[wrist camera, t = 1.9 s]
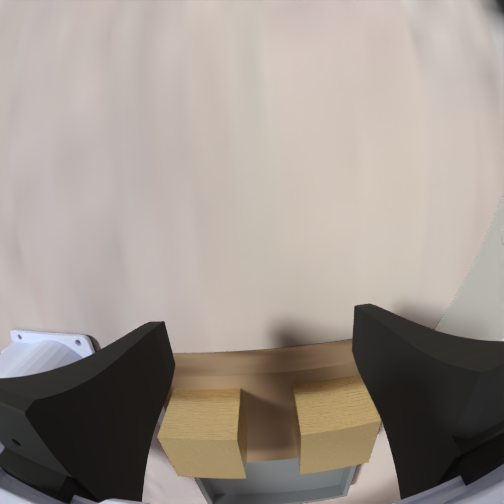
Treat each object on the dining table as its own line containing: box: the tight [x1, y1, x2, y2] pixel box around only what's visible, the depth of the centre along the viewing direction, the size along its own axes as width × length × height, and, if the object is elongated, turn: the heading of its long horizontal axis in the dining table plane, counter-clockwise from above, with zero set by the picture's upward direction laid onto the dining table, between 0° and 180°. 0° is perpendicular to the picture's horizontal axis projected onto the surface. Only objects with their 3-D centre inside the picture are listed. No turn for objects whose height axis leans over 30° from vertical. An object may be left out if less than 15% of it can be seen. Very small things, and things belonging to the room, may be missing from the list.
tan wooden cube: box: [293, 374, 381, 475], centre depth 14 cm, size 4×4×4 cm
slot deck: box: [158, 339, 379, 462], centre depth 17 cm, size 14×9×3 cm, turn 96°
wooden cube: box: [157, 388, 248, 479], centre depth 14 cm, size 4×4×4 cm
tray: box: [194, 458, 357, 504], centre depth 20 cm, size 14×10×2 cm
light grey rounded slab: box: [434, 196, 504, 341], centre depth 13 cm, size 17×5×10 cm, turn 153°
